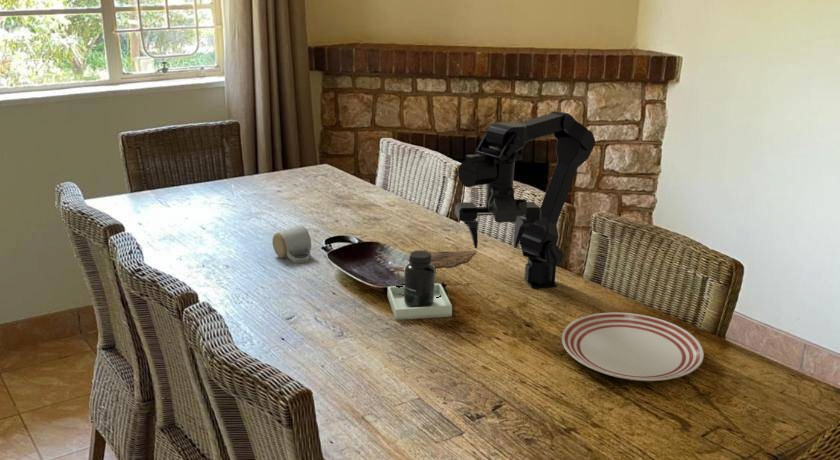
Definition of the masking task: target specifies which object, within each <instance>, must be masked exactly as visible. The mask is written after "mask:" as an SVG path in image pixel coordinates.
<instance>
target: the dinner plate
mask: <svg viewBox="0 0 840 460" xmlns="http://www.w3.org/2000/svg"><path fill="white" fill-rule="evenodd" d="M561 343H562V346H563V347H564V349H565V351H566V352H567V353H568V355H570V356H571V357H572V358H573V359H574V360H575V361H577V362H578V363H579V364H581V365H583V366H585V367H587V368H589V369H591V370H594V371H596V372H598V373H601V374H605V375H607V376H611V377H615V378H619V379H623V380H624V379H625V380H630V381H638V382H639V381H640V382H642V381H643V382H654V381H656V382H658V381H667V380H673V379H676V378H680V377H684V376H687V375H689V374H690V373H692V372H694V371H696V370H697V369H698V368H699V367H700V366H701V364H702V363H703V361H704V355H705V353H704V349H703V347H702V345H701V343H700V342H699V340H698V339H697V338H696V337H695V336H694V335H693V334H691V333H690V332H689V331H687V330H686V329H683V328H682V327H680V326H678V325H676V324H674V323H671V322H670V321H667V320H664V319H660V318H657V317H653V316H649V315H644V314H640V313H639V314H638V313H630V312H602V313H601V312H600V313H594V314H589V315H585V316H582V317H580V318H577V319H575V320H573V321H571V322H570V323H569V324H568V325H566V327H565V328H564V329H563V331H562V335H561Z"/></svg>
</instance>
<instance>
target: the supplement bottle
mask: <svg viewBox="0 0 840 460" xmlns="http://www.w3.org/2000/svg"><path fill="white" fill-rule="evenodd" d="M430 253H431V252H429V251H426V250H414V251H411V252H410V253H409V259H408V260H409V262H410V263H409V264H408V265H407V266H406V268H405V272H404V284H403V286H404V302H405V304H406V305H407V306H409V307H412V308H414V307H430V306H431V305H432V304H433V302H434V286H435V284H436V282H435V279H436V268H434V266H433V265H432V264H430V263H431V254H430Z"/></svg>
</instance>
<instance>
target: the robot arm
mask: <svg viewBox="0 0 840 460" xmlns="http://www.w3.org/2000/svg"><path fill="white" fill-rule="evenodd" d="M549 135H552V136H553V137H554V139H555V140H556V146H555V152H556V158H557V161H556V165H555V167H554V170H553V173H552V175H551V178H550V180H549V183H548V186H547V189H546V190H545V193H544V197H543V200H542V202H541V205H540V206H538V204H536V203H535V202H534V201H527V200H526V198H525V199H524V198H515V189H514V176H515V166H516V165H515V163H516V161H521V160H523V159H522V158H523V157H522V155H521V154H519V153H518V151H519V150H521V149H523V148H525V146H526V144H527V143H528V142H530V141H533V140H537V139H539V138H540V139H541V138H543V137H546V136H549ZM594 136H595V135H594V133H593V131H591V130H589V129H588V128H587V127H586V126H584V125H583V124H581V123H580V122H579V121H577V120H576V119H575V118H574V117H573V115H571V114H570V113H567V112H562V111H558V110H553V111H551V112H550V113H547V114H544V115H540V116H537V117H534V118H529V119H527V120H522V121H519V122H507V121H504V122H503V121H502V122H501V121H500V122H493V123H491V124H489V125H488V129H487V130H486V132H484V135H483V137H482V138H481V141H480V142H479V143H478V146H477V147H476V149H475V150H474V154H467V155H465V160H464V161H462V162H461V163H460V165H459V168H458V172H457V174H458V179H459V181H460V183H461V184H462V185H463V186H464V187H466V188H474V187H477V186H478V187H479V186H484V185H485V187H486V195H485V200H484V205H485V206H477V205H475V204H474V202H473V201H472V202H469V201H468V202H465V201H464V202H462V201H461V202H457V203H456V204H455V207H454V215H455V216H456V218H457V219H458V221H460V222H463V224H465V225H467V227H468V230H469V232H470V233H469V234H470V237H471V240H472V243H473V246H474V249H478V244H479V242H478V225H479V222H478V220H477V219H478V216H493V218H494V221H495V222H496V223H498V224H503V223H511V224H514V231H513V247H514V248H517V247H518V245H520V249H521V252H522V256H523V257H524V258H525V257H526V258H527V263H526V264H525V268H524V277H523V278H524V280H525V281H526V282H527V284H528V285H529V286H530V287H531V288H533V289H539V288H554V287H555V288H556V287H558V282H556V270H557V266H558V265H559V264H560V263H562V261H563V258H564V256H565V255H564V254H565V253H564V252H563V251H562V250H561V249H560V247H559V246H558V241H559V233H558V231H559V229H558V226H557V225H558V221H559V218H560V216H561V213H562V210H563V207H564V205H565V203H566V200H567V197H568V195H569V192H570V189H571V186H572V183H573V182H574V179H575V175H576V173H577V171H578V168H579V167H581V166H582V164H584V163H585V162H586V161H587V160H588V159H589V157H590V155H591V154H592V151H593V149H594V148H595V146H596V145H595V144H596V139H595V137H594Z"/></svg>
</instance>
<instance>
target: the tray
mask: <svg viewBox="0 0 840 460" xmlns="http://www.w3.org/2000/svg"><path fill="white" fill-rule="evenodd" d="M402 286H403V287H400V288H398V287H396V286H395V285H393V286H387V298H388V301H389V302H388V303H389V305H390V309H391V311H392V314H393V316H394V319H395V321H401V320H402V321H403V320H418V319H432V318H433V319H435V318H447V317H448V318H449V317H453V304H452V303H451V301H450V299H449V297H448V295H447V293H446V291H445V289H444V288H443V286H442V284H441V283H435V286H434V302H433V304H432V305H431V306H430V307H414V308H412V307H409V306H407V305H406V304H405V302H404V296H402V295H399V294H400V293H404V285H402ZM440 295H441V297H439V296H440ZM436 297H439V298H436Z"/></svg>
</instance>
